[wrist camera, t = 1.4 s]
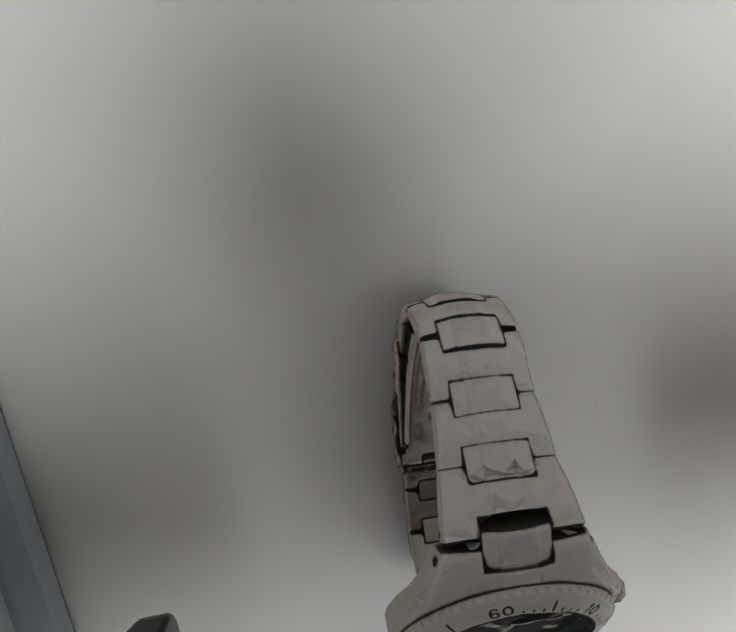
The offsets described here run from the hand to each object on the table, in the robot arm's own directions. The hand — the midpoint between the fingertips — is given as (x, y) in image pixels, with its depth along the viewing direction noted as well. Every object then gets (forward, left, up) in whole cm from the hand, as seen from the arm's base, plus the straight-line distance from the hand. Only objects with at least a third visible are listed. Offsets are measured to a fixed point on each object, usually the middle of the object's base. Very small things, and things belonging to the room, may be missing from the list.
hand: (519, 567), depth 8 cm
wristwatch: (0, 0, -5) cm, 5 cm away
